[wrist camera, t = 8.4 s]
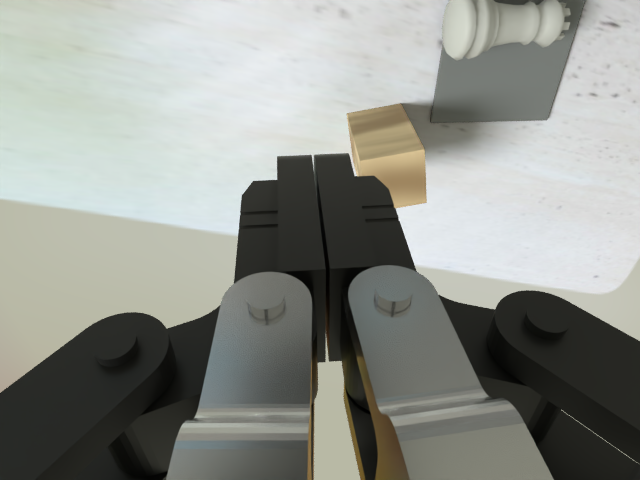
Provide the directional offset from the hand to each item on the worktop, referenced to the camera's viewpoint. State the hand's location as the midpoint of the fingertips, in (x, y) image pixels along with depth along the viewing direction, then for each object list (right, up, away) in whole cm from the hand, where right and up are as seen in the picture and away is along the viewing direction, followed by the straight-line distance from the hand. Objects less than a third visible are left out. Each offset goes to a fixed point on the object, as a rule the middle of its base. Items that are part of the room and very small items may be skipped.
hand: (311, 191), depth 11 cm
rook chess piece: (+9, +14, +23) cm, 28 cm away
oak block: (+5, +8, +30) cm, 32 cm away
